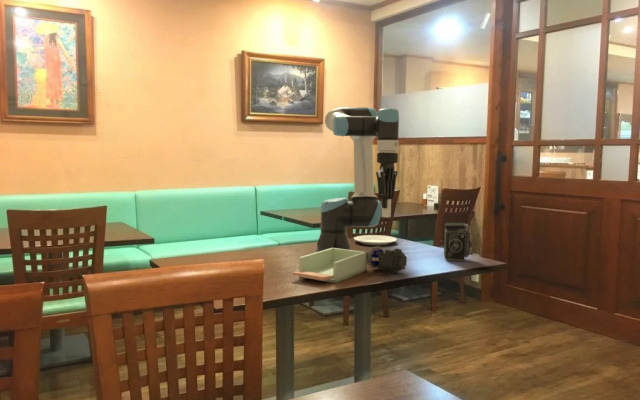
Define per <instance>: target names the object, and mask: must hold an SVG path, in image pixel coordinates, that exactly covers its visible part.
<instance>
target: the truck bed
mask: <svg viewBox="0 0 640 400" xmlns="http://www.w3.org/2000/svg"><path fill="white" fill-rule="evenodd" d="M367 255H368V252H367V251H363V250H362V251H361V250H353V249H350V250H346V249H339V248H330V249H326V250H323V251H317V252H313V253H310V254H305V255H302V256H299V261H298V262H299V264H298V265H299V267H298V268H299V269H298V271H308V272H314V273H320V274H326V275H332V276H333V279H328V280H318V279H313V278H307V277H301V276H298V277H299V278H304V279H309V280H310V279H311V280H314V281H315V280H316V281H321V282H326V283H327V282H328V283H333V284H337V283H339V282H342V281H344V280H347V279H349V278H352V277H355V276H358V275H359V274H362V273H364V272H367V267H368V263H367V262H368V258H367Z"/></svg>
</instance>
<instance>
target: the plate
mask: <svg viewBox="0 0 640 400" xmlns="http://www.w3.org/2000/svg"><path fill="white" fill-rule="evenodd" d="M353 240H355V241H358V242H359V243H360V244H363V245H368V246H386V245H389V244H391V243H394V242H396V241H397V240H398V238H397V237H394V236H390V235H389V236H388V235H380V234H378V235H377V234H367V235H365V234H364V235H357V236H354V237H353Z"/></svg>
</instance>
